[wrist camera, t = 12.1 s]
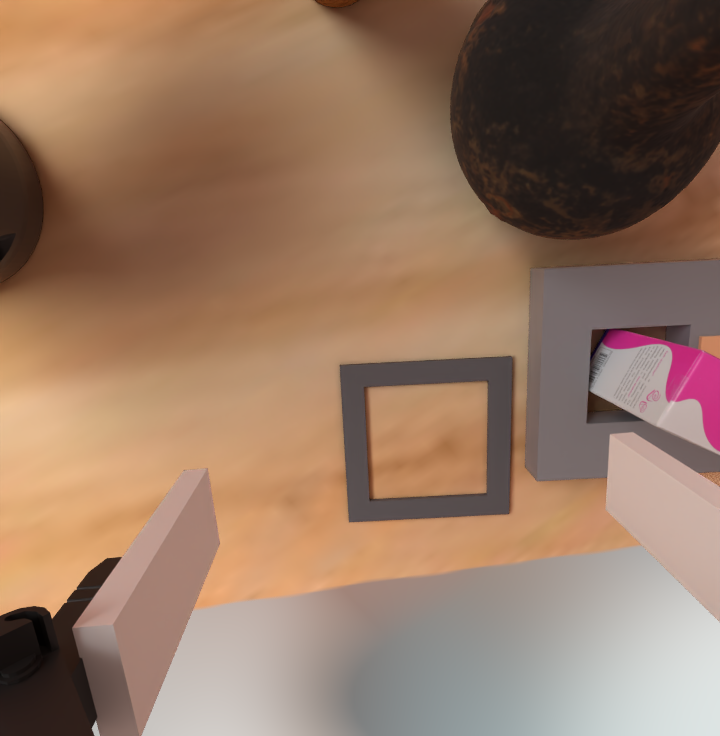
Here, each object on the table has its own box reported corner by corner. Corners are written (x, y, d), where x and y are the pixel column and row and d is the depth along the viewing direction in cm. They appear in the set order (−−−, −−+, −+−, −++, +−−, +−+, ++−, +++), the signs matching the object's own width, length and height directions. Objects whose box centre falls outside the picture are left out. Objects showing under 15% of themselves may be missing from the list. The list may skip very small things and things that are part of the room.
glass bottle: (645, -33, 36) (1581, -965, 9) (671, 211, 40) (1370, 106, 12) (412, 32, 37) (587, -635, 9) (459, 265, 40) (681, 280, 13)
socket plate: (530, 267, 41) (545, 268, 37) (719, 258, 41) (751, 258, 37) (524, 466, 45) (538, 482, 41) (697, 457, 45) (724, 473, 41)
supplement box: (629, 409, 43) (725, 461, 32) (573, 382, 43) (651, 426, 32) (664, 352, 42) (776, 386, 31) (607, 324, 42) (700, 347, 31)
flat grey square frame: (339, 364, 42) (339, 365, 42) (510, 356, 42) (512, 357, 42) (349, 519, 45) (349, 522, 45) (507, 511, 46) (509, 513, 45)
